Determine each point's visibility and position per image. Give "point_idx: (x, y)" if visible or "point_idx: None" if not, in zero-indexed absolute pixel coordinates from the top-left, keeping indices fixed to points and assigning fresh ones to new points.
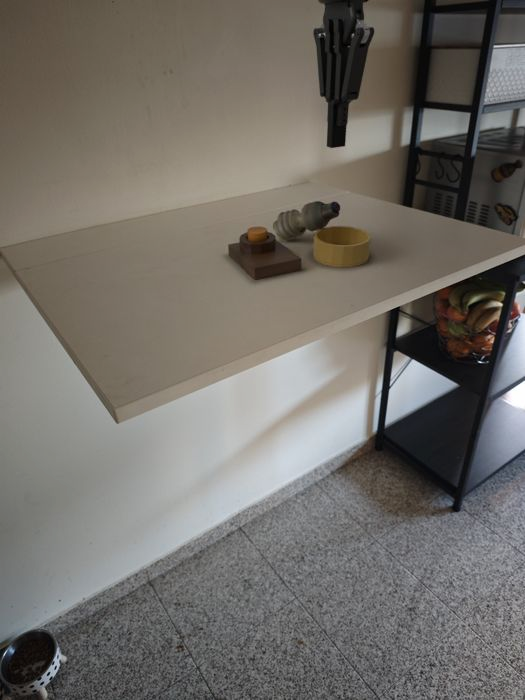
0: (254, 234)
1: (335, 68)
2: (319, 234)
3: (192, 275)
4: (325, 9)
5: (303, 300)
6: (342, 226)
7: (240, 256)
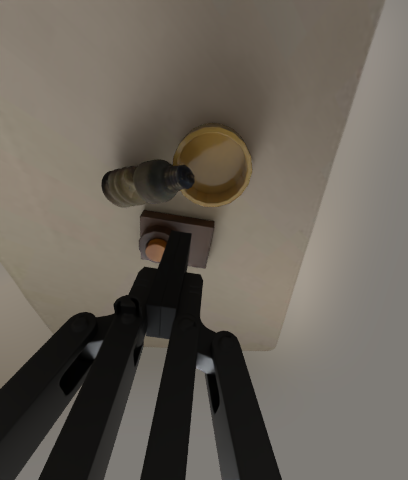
0: None
1: (106, 457)
2: None
3: None
4: None
5: (263, 253)
6: (183, 144)
7: None
